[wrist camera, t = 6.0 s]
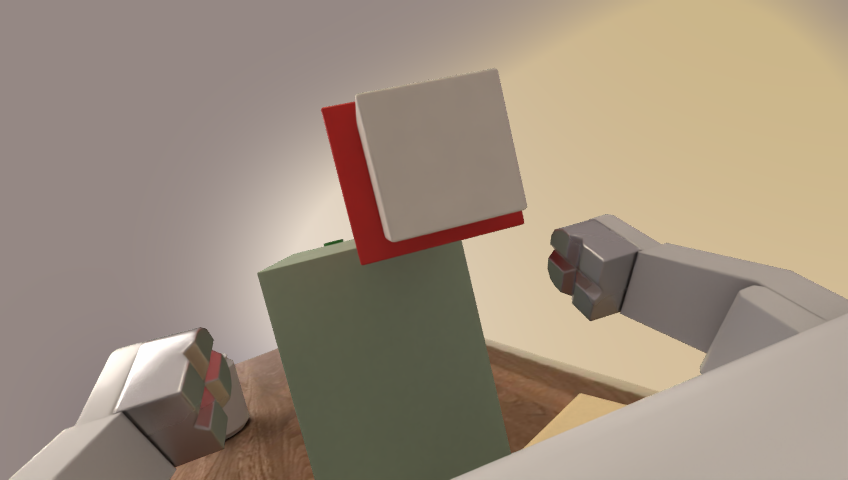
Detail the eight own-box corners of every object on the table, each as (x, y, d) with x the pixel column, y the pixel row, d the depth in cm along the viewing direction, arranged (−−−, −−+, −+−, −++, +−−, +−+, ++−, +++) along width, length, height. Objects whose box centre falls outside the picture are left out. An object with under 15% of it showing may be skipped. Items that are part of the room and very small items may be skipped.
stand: (559, 661, 21) (457, 221, 19) (392, 757, 19) (256, 272, 17) (472, 492, 35) (407, 226, 33) (369, 537, 32) (292, 254, 30)
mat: (818, 464, 29) (817, 454, 29) (798, 585, 22) (796, 573, 22) (581, 398, 45) (579, 392, 45) (523, 456, 38) (521, 449, 38)
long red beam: (565, 223, 8) (526, 35, 8) (360, 277, 7) (307, 73, 7) (414, 224, 32) (403, 179, 31) (362, 237, 31) (350, 191, 31)
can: (256, 424, 58) (236, 354, 57) (204, 453, 54) (181, 376, 53) (243, 412, 64) (224, 348, 63) (195, 437, 59) (173, 367, 58)
